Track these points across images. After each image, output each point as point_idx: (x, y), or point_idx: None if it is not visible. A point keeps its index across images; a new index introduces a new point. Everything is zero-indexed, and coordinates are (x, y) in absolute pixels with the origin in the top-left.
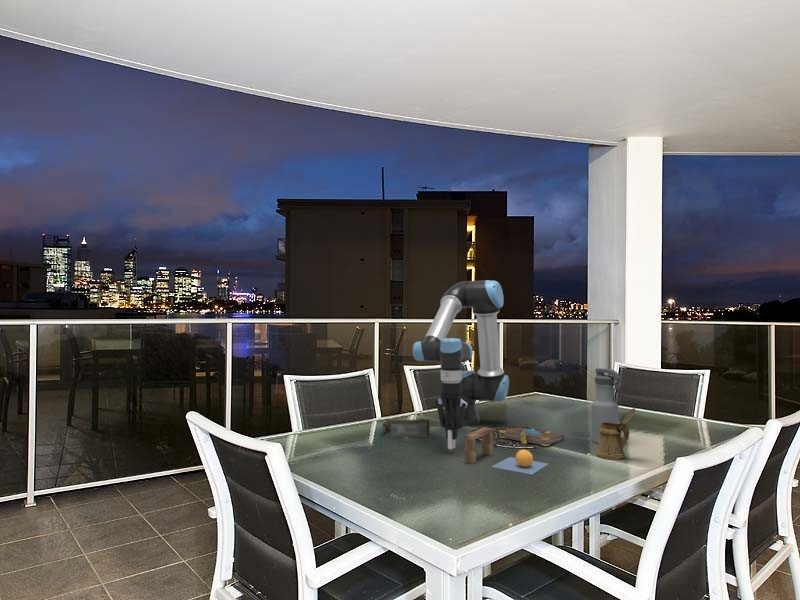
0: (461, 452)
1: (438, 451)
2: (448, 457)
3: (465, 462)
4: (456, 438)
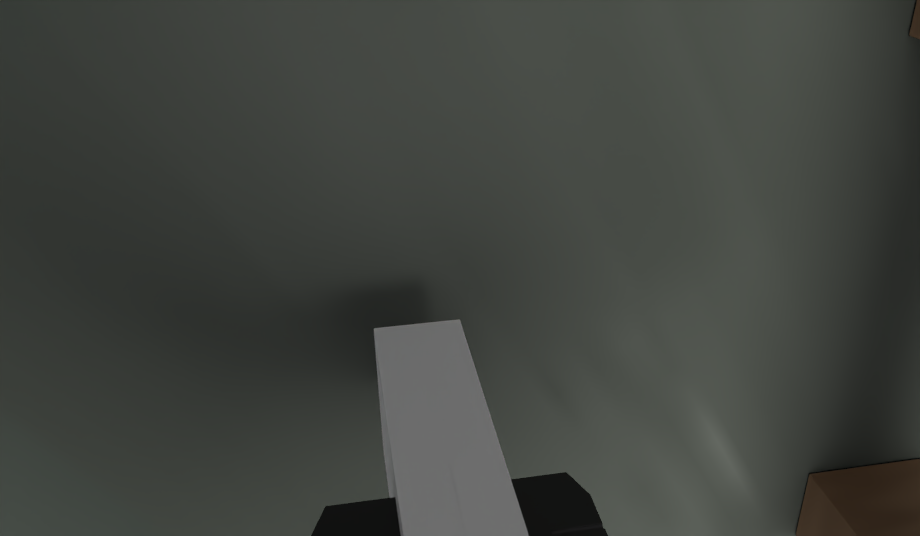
0: (513, 164)
1: (129, 373)
2: None
3: (803, 534)
4: (576, 500)
